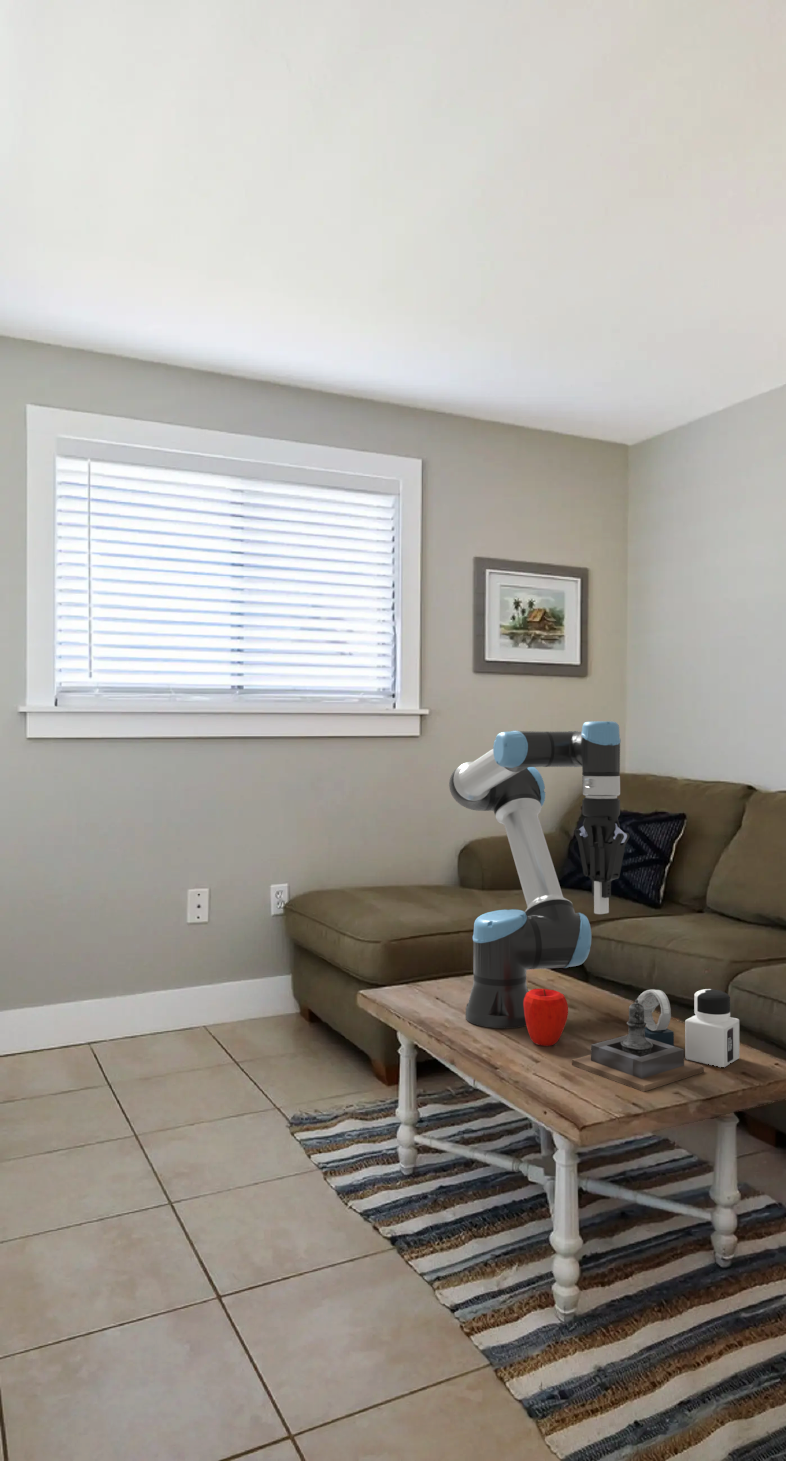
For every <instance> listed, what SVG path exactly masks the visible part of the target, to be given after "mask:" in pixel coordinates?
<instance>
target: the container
mask: <svg viewBox="0 0 786 1461" xmlns="http://www.w3.org/2000/svg"><path fill="white" fill-rule="evenodd" d="M693 1011H694V1012H693V1013H694V1014H695V1015H692V1016H691V1017H689V1018H687V1019H685V1021H684V1030H685V1031H684V1033H685V1034H684V1036H685V1037H684V1038H685V1039H684V1043H685V1045H684V1046H685V1047H684V1059H686V1061H689V1062H690V1061H691V1062H694V1063H695V1062H696V1063H699V1064H700V1063H701V1064H704V1065H708V1064H709V1065H708V1066H712V1065H714V1066H713V1067H716V1066H718V1067H717V1068H721V1067H724V1068H726V1067H727V1066H729V1065H731V1064H732V1063H733V1062H735V1061H737V1060H738V1059H740V1019H739V1018H736V1017H731V997H730V995H729V994H728V993H726V992H725V991H722V990H719V989H713V988H705V989H704V988H703V989H700V990H698V991H696V992H695V993H694V1009H693ZM730 1063H731V1064H730Z"/></svg>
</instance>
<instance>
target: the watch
mask: <svg viewBox="0 0 786 1461" xmlns="http://www.w3.org/2000/svg"><path fill="white" fill-rule="evenodd" d="M636 999H637V1000H638V1003H639V1004H641V1005H642V1006H643V1007H644V1022H645V1023H646V1026H645V1037H646V1038H649V1039H652V1040H656V1041H659V1042H662V1043H665V1044H669V1045H672V1046H675V1034H674V1033H675V1032H674V1031H673V1030H671V1029H669V1028H668V1027H669V1025H670V1022H671V1018H672V1014H671V1013H672V1012H671V1011H672V1010H671V1004H670V1000H669V998H668V996H667V995H666V993H665V992H664V991H663V990H660V989H654V988H653V989H647V990H644V991H643V992H642V993H640V995H638V997H637V998H636ZM658 1006H660V1014H659V1016H658V1021H657V1023H655V1020H654V1017H653V1013H654V1012H655V1010H656V1008H657V1007H658Z"/></svg>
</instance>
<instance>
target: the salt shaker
mask: <svg viewBox="0 0 786 1461" xmlns="http://www.w3.org/2000/svg"><path fill="white" fill-rule="evenodd" d="M637 999H638V998H636V999H635V1000H634V1002H633V1003H632V1004H630V1005H629V1006H628V1021H627V1022H626V1025H628V1034H627V1035H628V1038H627V1039H626V1040H623V1041H621V1045H622V1049H623V1051H624V1052H627V1053H630V1054H633V1055H636V1056H639V1057H641V1056H645V1055H648V1054H650V1052H651V1048H652V1047H653V1044H652V1043H651V1042H648V1041H647V1040H646V1037H645V1027H646V1023H645V1022H644V1007H643V1006H642V1005H641V1004H639V1003H638V1000H637Z"/></svg>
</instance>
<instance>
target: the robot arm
mask: <svg viewBox="0 0 786 1461" xmlns="http://www.w3.org/2000/svg"><path fill="white" fill-rule="evenodd" d="M556 767H557V768H558V767H559V768H563V767H564V768H567V767H569V768H579V767H580V768H581V769H582V770H581V771H582V773H581V774H582V795H583V796H585V797H583V799H582V801H581V802H582V808H581V810H582V812H581V813H582V815H583V816H584V819H583V822H582V826H581V827H580V828H576V829H574V831H573V833H574V835H575V837H576V840H577V844H578V850H579V855H580V861H581V867H582V872H583V875H584V876H585V877H588V878H589V879H590V881H591V896H592V897H593V907H594V908H593V914H595V915H604V914H609V913H610V908H609V907H610V906H609V903H610V902H609V900H610V898H611V896H612V882H613V881H615V880H617V879H619V878H620V876H621V871H622V865H623V860H624V855H625V849H626V844H627V842H628V840H629V839H630V834H629V833H628V832H624V831H623V830H622V829H621V828H620V827H621V825H620V822H619V820H618V819H619V816H620V815H621V799H620V798H618V797H619V796H620V795H621V776H620V775H621V774H620V772H621V738H620V726H619V724H618V722H616V721H614V720H613V721H611V720H610V721H609V720H606V721H602V720H599V721H597V720H596V721H594V720H593V721H591V720H589V721H585V722H583V724H582V727H581V731H578V730H577V731H576V730H574V731H573V730H572V731H534V730H533V731H532V730H531V731H527V730H525V731H524V730H523V731H521V730H511V731H509V730H508V731H502V732H499V733H498V734H497V735H496V736H495V739H494V741H493V748H492V749H490V750H488V751H487V752H486V753H484V754H483V755H481V756H480V757H478V758H477V759H475V760H474V761H467V762H464V763H462V764H460V765H459V766H458V767H457V768H456V769H454V770H453V771H452V773H451V775H450V777H449V781H448V786H449V787H448V788H449V791H450V794H451V796H452V798H453V799H454V800H455V802H457V803H458V805H460V806H462V807H464V808H465V809H468V810H470V811H471V810H472V811H476V812H487V811H488V812H491V811H493V812H494V817H495V820H496V821H497V823H499V824H501V825H503V826H504V830H505V833H506V836H507V839H508V844H509V846H510V850H511V854H512V857H513V860H514V864H515V868H516V871H517V872H516V873H517V875H518V878H519V882H520V886H521V889H522V893H523V896H524V900H525V903H526V907H527V908H526V909H525V910H521V909H515V908H513V909H498V910H493V911H488V912H485V913H483V914H481V915H479V916H477V918H476V919H475V920H474V923H473V935H472V941H473V942H472V943H473V944H472V945H473V948H472V949H473V958H472V959H473V960H472V962H473V983H472V987H471V991H470V994H469V999H468V1001H467V1003H466V1006H465V1019H466V1021H467V1022H469V1023H471V1024H472V1025H477V1026H478V1027H479V1026H480V1027H485V1028H486V1027H487V1028H493V1029H515V1028H521V1027H525V1026H526V1020H525V1014H524V1005H523V1003H524V998H525V995H526V993H527V992H529V989H528V986H527V971H528V970H542V969H559V968H563V969H567V968H569V967H570V968H571V967H576V966H580V965H582V964H583V963H584V962H585V961H586V960H587V959H588V957H589V954H590V951H591V945H592V929H591V928H592V927H591V924H590V921H589V919H588V917H587V915H585V914H584V913H581V912H576V911H575V908H574V905H573V902H572V901H571V900H569V899H567V898H566V897H564V895H563V892H562V889H561V886H560V882H559V879H558V875H557V872H556V869H555V867H554V863H553V859H552V856H551V853H550V850H549V847H548V844H547V840H546V837H545V834H544V830H543V828H542V824H541V821H540V818H539V814H540V813H541V811H542V807H543V806H544V803H545V799H546V792H545V789H546V787H545V782H544V778H543V776H542V774H541V773H540V771H539V770H538V769H537V768H556ZM526 1027H527V1026H526Z"/></svg>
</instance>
